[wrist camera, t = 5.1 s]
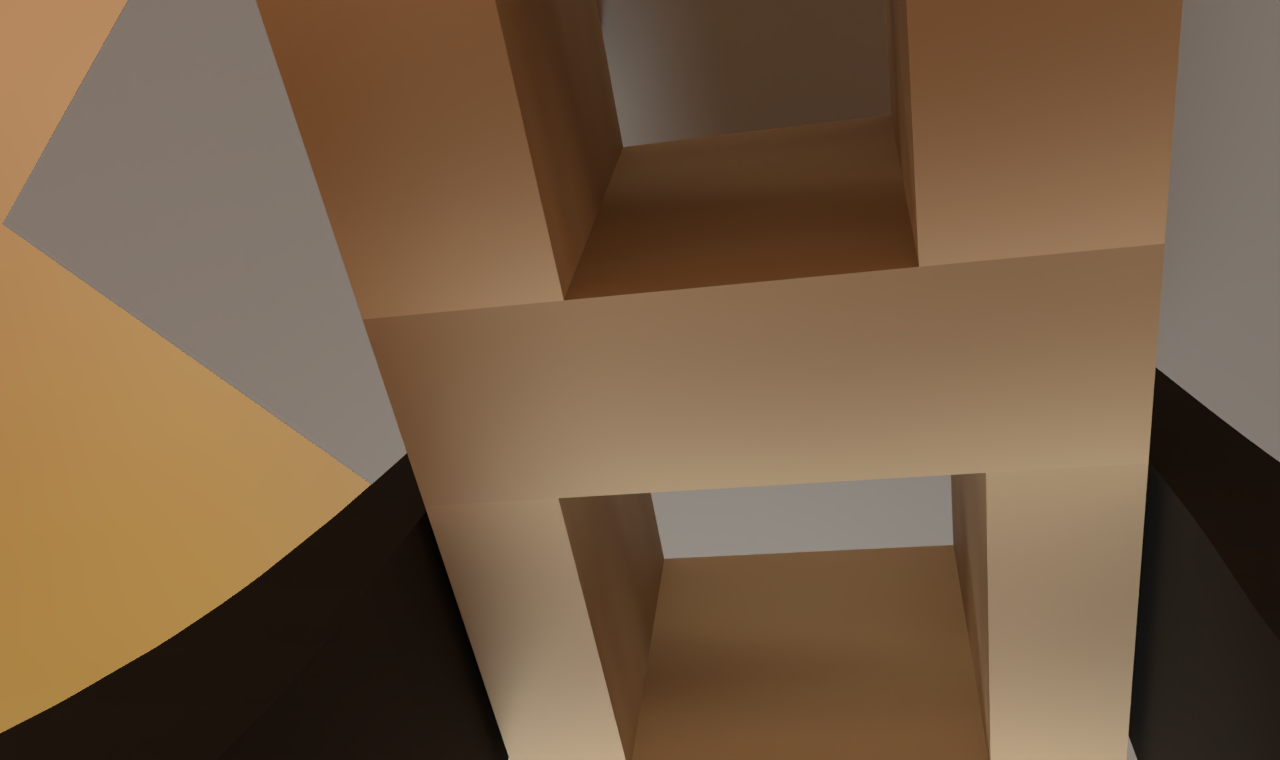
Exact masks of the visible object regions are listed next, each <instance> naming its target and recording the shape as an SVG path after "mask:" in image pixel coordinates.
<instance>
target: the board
mask: <svg viewBox="0 0 1280 760" xmlns="http://www.w3.org/2000/svg"><path fill="white" fill-rule="evenodd" d="M596 2H597V7H598V13H599V18H600V24H601V29H602V35H603V40H604V45H605V51H606V56H607V62H608V67H609V73H610V78H611V83H612V89H613V94H614V100H615V105H616V111H617V116H618V121H619V127H620V132H621V138H622V143H623V147H627V146H635V145H643V144H652V143H660V142H668V141H676V140H685V139H693V138H701V137H710V136H718V135H726V134H734V133H743V132H751V131H759V130H768V129H776V128H784V127H792V126H801V125H809V124H817V123H826V122H834V121H842V120H850V119H859V118H867V117H875V116H884V115H891V110H890V93H889V76H888V58H887V41H886V23H885V6H884V0H596ZM3 225H5V226H6V227H7V228H9V229H10V230H12V231H13V232H14V233H16V234H18V235H19V236H20V237H22V238H23V239H24V240H26V241H27V242H29V243H30V244H31V245H33V246H35V247H36V248H37V249H39V250H40V251H41V252H43V253H44V254H46V255H47V256H49V257H50V258H51V259H53V260H54V261H56V262H57V263H58V264H60V265H61V266H63V267H64V268H66V269H67V270H68V271H70V272H71V273H73V274H74V275H75V276H77V277H78V278H80V279H81V280H83V281H84V282H85V283H87V284H88V285H90V286H91V287H93V288H94V289H95V290H97V291H98V292H99V293H101V294H102V295H104V296H105V297H107V298H108V299H109V300H111V301H112V302H114V303H115V304H116V305H118V306H119V307H121V308H122V309H124V310H125V311H126V312H128V313H129V314H131V315H132V316H134V317H135V318H136V319H138V320H139V321H141V322H142V323H143V324H145V325H146V326H148V327H149V328H151V329H152V330H154V331H155V332H156V333H158V334H159V335H160V336H162V337H163V338H165V339H166V340H168V341H169V342H170V343H172V344H174V345H175V346H176V347H177V348H179V349H180V350H182V351H183V352H185V353H186V354H187V355H189V356H190V357H192V358H193V359H194V360H196V361H197V362H199V363H200V364H202V365H203V366H204V367H206V368H207V369H209V370H210V371H212V372H213V373H214V374H216V375H217V376H219V377H220V378H221V379H223V380H224V381H226V382H227V383H229V384H230V385H231V386H233V387H234V388H236V389H237V390H239V391H240V392H241V393H243V394H244V395H246V396H247V397H248V398H250V399H251V400H253V401H254V402H255V403H257V404H258V405H260V406H261V407H262V408H264V409H266V410H267V411H268V412H270V413H271V414H273V415H274V416H275V417H277V418H278V419H279V420H281V421H282V422H284V423H285V424H287V425H288V426H290V427H291V428H292V429H294V430H295V431H297V432H298V433H300V434H301V435H302V436H304V437H305V438H306V439H308V440H309V441H311V442H312V443H313V444H315V445H316V446H318V447H319V448H321V449H322V450H324V451H325V452H326V453H328V454H329V455H331V456H332V457H333V458H335V459H336V460H338V461H339V462H340V463H342V464H343V465H345V466H346V467H348V468H349V469H350V470H352V471H353V472H355V473H356V474H358V475H359V476H360V477H362V478H363V479H365V480H366V481H367V482H369V483H370V484H373V483H374V482H375V481H376V480H377V479H378V478H379V477H381V476H382V475H383V474H384V473H385V472H386V471H387V470H389V469H390V468H391V467H392V466H393V465H394V464H395V463H396V462H398V461H399V460H400V459H401V458H402V457H403V456H404V455H405V454H406V453H407V451H406V448H405V445H404V442H403V439H402V436H401V433H400V430H399V427H398V424H397V421H396V418H395V415H394V412H393V409H392V406H391V403H390V400H389V397H388V394H387V391H386V388H385V385H384V382H383V379H382V376H381V373H380V371H379V368H378V365H377V362H376V359H375V356H374V353H373V350H372V347H371V344H370V341H369V338H368V335H367V332H366V329H365V326H364V323H363V320H362V317H361V314H360V311H359V308H358V305H357V302H356V299H355V296H354V293H353V290H352V287H351V284H350V281H349V278H348V275H347V272H346V269H345V266H344V263H343V260H342V257H341V254H340V251H339V248H338V245H337V242H336V239H335V236H334V233H333V230H332V227H331V224H330V221H329V218H328V215H327V212H326V209H325V206H324V203H323V200H322V197H321V194H320V191H319V188H318V185H317V182H316V179H315V176H314V173H313V170H312V167H311V164H310V161H309V158H308V155H307V152H306V149H305V146H304V143H303V140H302V137H301V134H300V131H299V128H298V125H297V122H296V119H295V116H294V113H293V110H292V107H291V104H290V101H289V98H288V95H287V92H286V89H285V86H284V83H283V80H282V77H281V74H280V71H279V68H278V66H277V63H276V60H275V57H274V54H273V51H272V48H271V45H270V42H269V39H268V36H267V33H266V30H265V27H264V24H263V21H262V18H261V15H260V12H259V9H258V6H257V3H256V0H128V1H127V3H126V5H125V7H124V8H123V10H122V12H121V14H120V15H119V17H118V19H117V21H116V23H115V25H114V26H113V28H112V30H111V31H110V33H109V35H108V37H107V39H106V40H105V42H104V44H103V46H102V47H101V49H100V51H99V53H98V55H97V56H96V58H95V60H94V62H93V64H92V65H91V67H90V69H89V71H88V72H87V74H86V76H85V78H84V80H83V81H82V83H81V85H80V87H79V88H78V90H77V92H76V94H75V96H74V97H73V99H72V101H71V103H70V105H69V106H68V108H67V110H66V112H65V113H64V115H63V117H62V119H61V121H60V122H59V124H58V126H57V128H56V129H55V131H54V134H53V135H52V137H51V138H50V140H49V142H48V144H47V146H46V147H45V149H44V151H43V153H42V154H41V156H40V158H39V160H38V162H37V163H36V165H35V167H34V169H33V170H32V172H31V174H30V176H29V178H28V180H27V181H26V183H25V185H24V186H23V188H22V190H21V192H20V194H19V196H18V197H17V199H16V201H15V202H14V204H13V206H12V208H11V210H10V211H9V213H8V215H7V217H6V219H5V220H4V222H3ZM1156 368H1158V369H1159V370H1160V371H1161V372H1163V373H1164V374H1165V375H1166V376H1168V377H1169V378H1170V379H1171V380H1173V381H1174V382H1175V383H1176V384H1178V385H1179V386H1180V387H1182V388H1183V389H1184V390H1185V391H1187V392H1188V393H1189V394H1190V395H1192V396H1193V397H1194V398H1195V399H1197V400H1198V401H1199V402H1201V403H1202V404H1203V405H1204V406H1206V407H1207V408H1208V409H1209V410H1211V411H1212V412H1213V413H1215V414H1216V415H1217V416H1218V417H1220V418H1221V419H1222V420H1224V421H1225V422H1226V423H1228V424H1229V425H1230V426H1231V427H1233V428H1234V429H1235V430H1237V431H1238V432H1239V433H1241V434H1242V435H1243V436H1245V437H1246V438H1247V439H1249V440H1250V441H1251V442H1253V443H1254V444H1256V445H1257V446H1258V447H1260V448H1261V449H1262V450H1264V451H1265V452H1266V453H1268V454H1269V455H1271V456H1272V457H1273V458H1275V459H1276V460H1278V461H1279V462H1280V0H1183V3H1182V17H1181V30H1180V44H1179V57H1178V71H1177V84H1176V98H1175V111H1174V125H1173V138H1172V152H1171V165H1170V179H1169V192H1168V206H1167V220H1166V233H1165V247H1164V260H1163V274H1162V287H1161V301H1160V314H1159V328H1158V341H1157V355H1156ZM651 497H652V501H653V506H654V511H655V516H656V521H657V526H658V531H659V536H660V540H661V545H662V550H663V555H664V559H669V558H690V557H710V556H731V555H752V554H773V553H794V552H815V551H836V550H857V549H878V548H898V547H919V546H940V545H953V522H952V494H951V475H940V476H923V477H907V478H890V479H873V480H856V481H839V482H823V483H806V484H789V485H772V486H755V487H739V488H722V489H705V490H688V491H671V492H655V493H651ZM1127 760H1137V758H1136V755H1135V752H1134V749H1133V747H1132V744H1131V741H1130V739H1129V736H1128V746H1127Z"/></svg>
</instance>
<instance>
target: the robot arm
mask: <svg viewBox="0 0 1280 760" xmlns="http://www.w3.org/2000/svg"><path fill="white" fill-rule="evenodd" d="M1128 736H1129V739H1130V741H1131V744H1132V747H1133V749H1134V752H1135V755H1136V758H1137V760H1280V462H1279V461H1278V460H1276V459H1275V458H1273V457H1272V456H1271V455H1269V454H1268V453H1266V452H1265V451H1264V450H1262V449H1261V448H1260V447H1258V446H1257V445H1256V444H1254V443H1253V442H1251V441H1250V440H1249V439H1247V438H1246V437H1245V436H1243V435H1242V434H1241V433H1239V432H1238V431H1237V430H1235V429H1234V428H1233V427H1231V426H1230V425H1229V424H1228V423H1226V422H1225V421H1224V420H1222V419H1221V418H1220V417H1218V416H1217V415H1216V414H1215V413H1213V412H1212V411H1211V410H1209V409H1208V408H1207V407H1206V406H1204V405H1203V404H1202V403H1201V402H1199V401H1198V400H1197V399H1195V398H1194V397H1193V396H1192V395H1190V394H1189V393H1188V392H1187V391H1185V390H1184V389H1183V388H1182V387H1180V386H1179V385H1178V384H1176V383H1175V382H1174V381H1173V380H1171V379H1170V378H1169V377H1168V376H1166V375H1165V374H1164V373H1163V372H1161V371H1160V370H1159V369H1158V368H1155V382H1154V395H1153V409H1152V422H1151V436H1150V449H1149V463H1148V476H1147V490H1146V503H1145V517H1144V530H1143V544H1142V557H1141V571H1140V584H1139V598H1138V611H1137V625H1136V638H1135V652H1134V665H1133V679H1132V692H1131V706H1130V719H1129V733H1128ZM508 758H509V756H508V753H507V750H506V747H505V744H504V741H503V738H502V735H501V732H500V729H499V726H498V723H497V720H496V717H495V714H494V711H493V708H492V705H491V702H490V699H489V696H488V693H487V690H486V687H485V684H484V681H483V678H482V676H481V673H480V670H479V667H478V664H477V661H476V658H475V655H474V652H473V649H472V646H471V643H470V640H469V637H468V634H467V631H466V628H465V625H464V622H463V619H462V616H461V613H460V610H459V607H458V604H457V601H456V598H455V595H454V592H453V589H452V586H451V583H450V580H449V577H448V574H447V571H446V568H445V565H444V562H443V559H442V556H441V553H440V550H439V547H438V544H437V541H436V538H435V535H434V532H433V529H432V526H431V523H430V520H429V517H428V514H427V511H426V508H425V505H424V502H423V499H422V496H421V493H420V490H419V487H418V484H417V481H416V478H415V475H414V472H413V469H412V466H411V463H410V460H409V457H408V454H407V453H406V454H405V455H404V456H403V457H402V458H401V459H400V460H399V461H398V462H396V463H395V464H394V465H393V466H392V467H391V468H390V469H389V470H387V471H386V472H385V473H384V474H383V475H382V476H381V477H379V478H378V479H377V480H376V481H375V482H374V483H373V484H371V486H369V487H368V488H367V489H366V490H365V491H363V492H362V493H361V494H360V495H359V496H358V497H357V498H355V499H354V500H353V501H352V502H351V503H350V504H349V505H347V507H345V508H344V509H343V510H342V511H341V512H340V513H338V514H337V515H336V516H335V517H333V518H332V519H331V520H330V521H329V522H327V523H326V524H325V525H324V526H322V527H321V528H320V529H319V530H317V531H316V532H315V533H314V534H312V535H311V536H310V537H309V538H307V539H306V540H305V541H304V542H302V543H301V544H300V545H299V546H297V547H296V548H295V549H294V550H292V551H291V552H290V553H289V554H288V555H286V556H285V557H284V558H282V559H281V560H280V561H279V562H277V563H276V564H275V565H274V566H272V567H271V568H270V569H269V570H268V571H266V572H265V573H264V574H262V575H261V576H260V577H258V578H257V579H256V580H255V581H253V582H252V583H250V584H249V585H248V586H246V587H245V588H244V589H242V590H241V591H239V592H238V593H237V594H235V595H234V596H232V597H231V598H230V599H228V600H227V601H225V602H224V603H223V604H221V605H220V606H218V607H217V608H215V609H214V610H212V611H211V612H210V613H208V614H206V615H205V616H203V617H202V618H200V619H199V620H197V621H196V622H194V623H193V624H191V625H190V626H188V627H187V628H185V629H184V630H182V631H181V632H179V633H178V634H176V635H175V636H173V637H172V638H170V639H168V640H167V641H165V642H164V643H162V644H161V645H159V646H157V647H156V648H154V649H152V650H151V651H149V652H148V653H146V654H144V655H142V656H140V657H139V658H137V659H135V660H134V661H132V662H130V663H128V664H127V665H125V666H123V667H122V668H120V669H118V670H116V671H114V672H113V673H111V674H109V675H108V676H106V677H104V678H102V679H101V680H99V681H97V682H96V683H94V684H92V685H90V686H89V687H87V688H85V689H83V690H82V691H80V692H78V693H77V694H75V695H73V696H71V697H70V698H68V699H66V700H64V701H62V702H61V703H59V704H57V705H55V706H53V707H52V708H49V709H47V710H45V711H43V712H41V713H39V714H38V715H36V716H34V717H32V718H30V719H28V720H26V721H24V722H22V723H20V724H18V725H16V726H14V727H12V728H10V729H8V730H6V731H4V732H2V733H0V760H508Z"/></svg>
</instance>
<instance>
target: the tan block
mask: <svg viewBox="0 0 1280 760" xmlns="http://www.w3.org/2000/svg"><path fill="white" fill-rule="evenodd" d="M256 3H257V6H258V9H259V12H260V15H261V18H262V21H263V24H264V27H265V30H266V33H267V36H268V39H269V42H270V45H271V48H272V51H273V54H274V57H275V60H276V63H277V66H278V68H279V71H280V74H281V77H282V80H283V83H284V86H285V89H286V92H287V95H288V98H289V101H290V104H291V107H292V110H293V113H294V116H295V119H296V122H297V125H298V128H299V131H300V134H301V137H302V140H303V143H304V146H305V149H306V152H307V155H308V158H309V161H310V164H311V167H312V170H313V173H314V176H315V179H316V182H317V185H318V188H319V191H320V194H321V197H322V200H323V203H324V206H325V209H326V212H327V215H328V218H329V221H330V224H331V227H332V230H333V233H334V236H335V239H336V242H337V245H338V248H339V251H340V254H341V257H342V260H343V263H344V266H345V269H346V272H347V275H348V278H349V281H350V284H351V287H352V290H353V293H354V296H355V299H356V302H357V305H358V308H359V311H360V314H361V317H362V320H363V323H364V326H365V329H366V332H367V335H368V338H369V341H370V344H371V347H372V350H373V353H374V356H375V359H376V362H377V365H378V368H379V371H380V373H381V376H382V379H383V382H384V385H385V388H386V391H387V394H388V397H389V400H390V403H391V406H392V409H393V412H394V415H395V418H396V421H397V424H398V427H399V430H400V433H401V436H402V439H403V442H404V445H405V448H406V451H407V454H408V457H409V460H410V463H411V466H412V469H413V472H414V475H415V478H416V481H417V484H418V487H419V490H420V493H421V496H422V499H423V502H424V505H425V508H426V511H427V514H428V517H429V520H430V523H431V526H432V529H433V532H434V535H435V538H436V541H437V544H438V547H439V550H440V553H441V556H442V559H443V562H444V565H445V568H446V571H447V574H448V577H449V580H450V583H451V586H452V589H453V592H454V595H455V598H456V601H457V604H458V607H459V610H460V613H461V616H462V619H463V622H464V625H465V628H466V631H467V634H468V637H469V640H470V643H471V646H472V649H473V652H474V655H475V658H476V661H477V664H478V667H479V670H480V673H481V676H482V678H483V681H484V684H485V687H486V690H487V693H488V696H489V699H490V702H491V705H492V708H493V711H494V714H495V717H496V720H497V723H498V726H499V729H500V732H501V735H502V738H503V741H504V744H505V747H506V750H507V753H508V756H509V759H510V760H1127V746H1128V733H1129V719H1130V706H1131V692H1132V679H1133V665H1134V652H1135V638H1136V625H1137V611H1138V598H1139V584H1140V571H1141V557H1142V544H1143V530H1144V517H1145V503H1146V490H1147V476H1148V463H1149V449H1150V436H1151V422H1152V409H1153V395H1154V382H1155V368H1156V355H1157V341H1158V328H1159V314H1160V301H1161V287H1162V274H1163V260H1164V247H1165V233H1166V220H1167V206H1168V192H1169V179H1170V165H1171V152H1172V138H1173V125H1174V111H1175V98H1176V84H1177V71H1178V57H1179V44H1180V30H1181V17H1182V3H1183V0H884V6H885V23H886V41H887V58H888V76H889V93H890V110H891V115H884V116H875V117H867V118H859V119H850V120H842V121H834V122H826V123H817V124H809V125H801V126H792V127H784V128H776V129H768V130H759V131H751V132H743V133H734V134H726V135H718V136H710V137H701V138H693V139H685V140H676V141H668V142H660V143H652V144H643V145H635V146H627V147H623V143H622V138H621V132H620V127H619V121H618V116H617V111H616V105H615V100H614V94H613V89H612V83H611V78H610V73H609V67H608V62H607V56H606V51H605V45H604V40H603V35H602V29H601V24H600V18H599V13H598V7H597V2H596V0H256ZM940 475H951V494H952V522H953V545H940V546H919V547H898V548H878V549H857V550H836V551H815V552H794V553H773V554H752V555H731V556H710V557H690V558H669V559H664V555H663V550H662V545H661V540H660V536H659V531H658V526H657V521H656V516H655V511H654V506H653V501H652V497H651V493H655V492H671V491H688V490H705V489H722V488H739V487H755V486H772V485H789V484H806V483H823V482H839V481H856V480H873V479H890V478H907V477H923V476H940Z"/></svg>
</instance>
